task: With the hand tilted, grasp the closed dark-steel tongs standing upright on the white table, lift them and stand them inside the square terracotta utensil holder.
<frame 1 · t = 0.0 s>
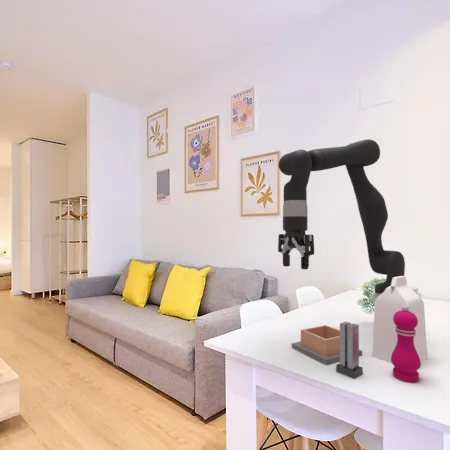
hand: (295, 267, 98), 29 cm above the table, tool pointing down, fingers open, 8 cm apart
holder: (325, 351, 107), on the table
milk: (399, 358, 102), on the table
pepper mill: (405, 377, 88), on the table
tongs: (349, 373, 91), on the table
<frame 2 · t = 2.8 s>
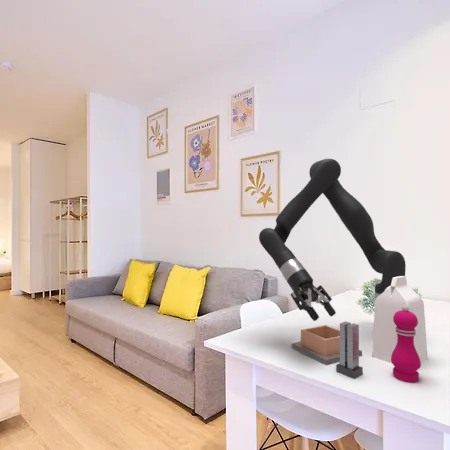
hand: (325, 317, 97), 14 cm above the table, tool tilted 45°, fingers open, 8 cm apart
nothing on the table moved.
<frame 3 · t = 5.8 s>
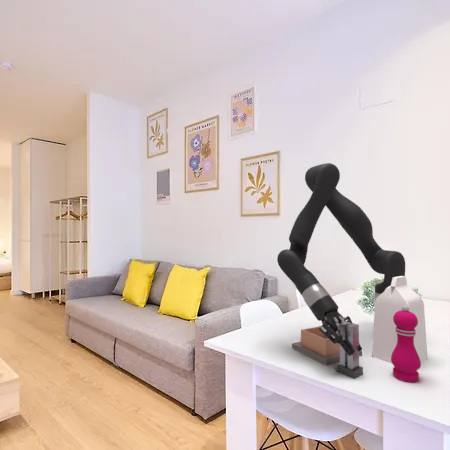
hand: (355, 352, 89), 6 cm above the table, tool tilted 45°, fingers closed on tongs, 3 cm apart
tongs: (349, 373, 91), on the table, touching gripper
everything else where it was.
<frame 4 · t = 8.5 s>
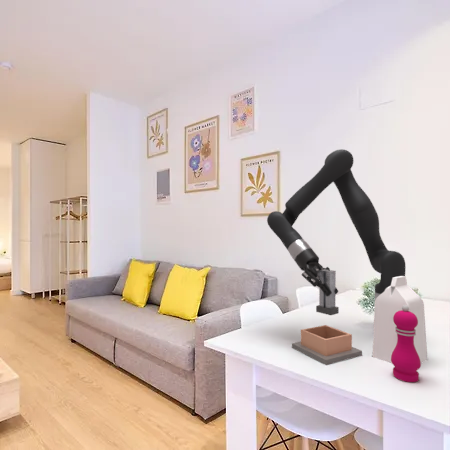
hand: (332, 293, 104), 20 cm above the table, tool tilted 45°, fingers closed on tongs, 3 cm apart
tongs: (327, 312, 106), point 13 cm above the table, touching gripper
everything else where it was.
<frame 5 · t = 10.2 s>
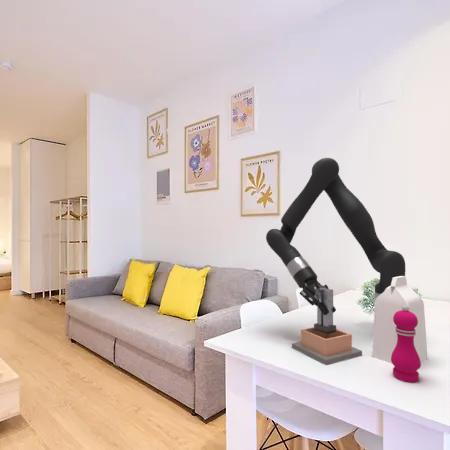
hand: (330, 312, 106), 13 cm above the table, tool tilted 45°, fingers closed on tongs, 3 cm apart
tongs: (325, 330, 107), point 7 cm above the table, touching gripper
everything else where it was.
when the fingers open (9 cm above the table, at t = 11.4 s): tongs drops 1 cm, resting on holder.
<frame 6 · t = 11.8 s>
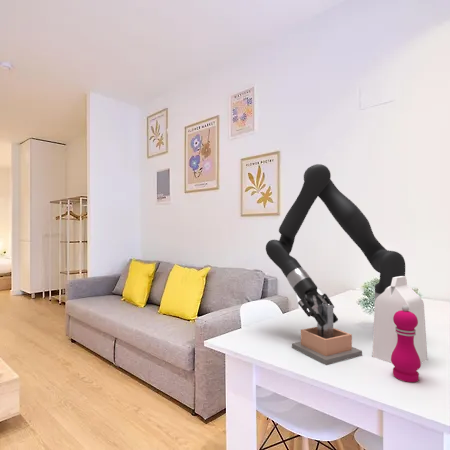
hand: (330, 323, 106), 10 cm above the table, tool tilted 45°, fingers open, 6 cm apart
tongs: (325, 346, 107), point 1 cm above the table, touching holder
everything else where it was.
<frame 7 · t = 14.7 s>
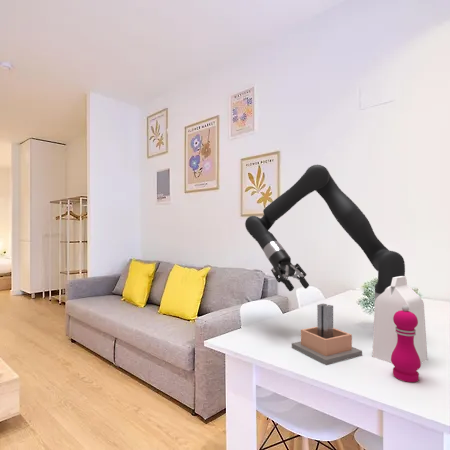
hand: (299, 288, 116), 20 cm above the table, tool tilted 45°, fingers open, 8 cm apart
nothing on the table moved.
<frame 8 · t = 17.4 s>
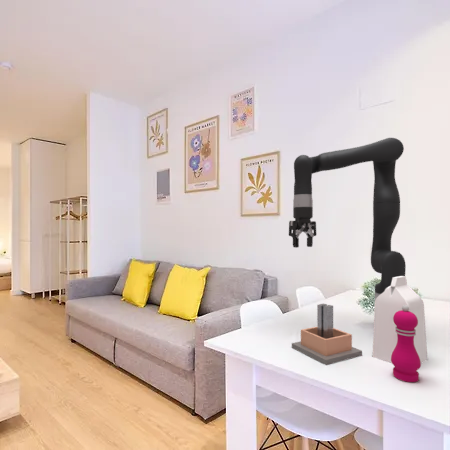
hand: (302, 247, 126), 34 cm above the table, tool pointing down, fingers open, 8 cm apart
nothing on the table moved.
at the end: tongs inside the target area on the holder (0.1 cm from its centre), point 1.5 cm above the holder's base; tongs tilted 0°; the gripper is holding nothing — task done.
